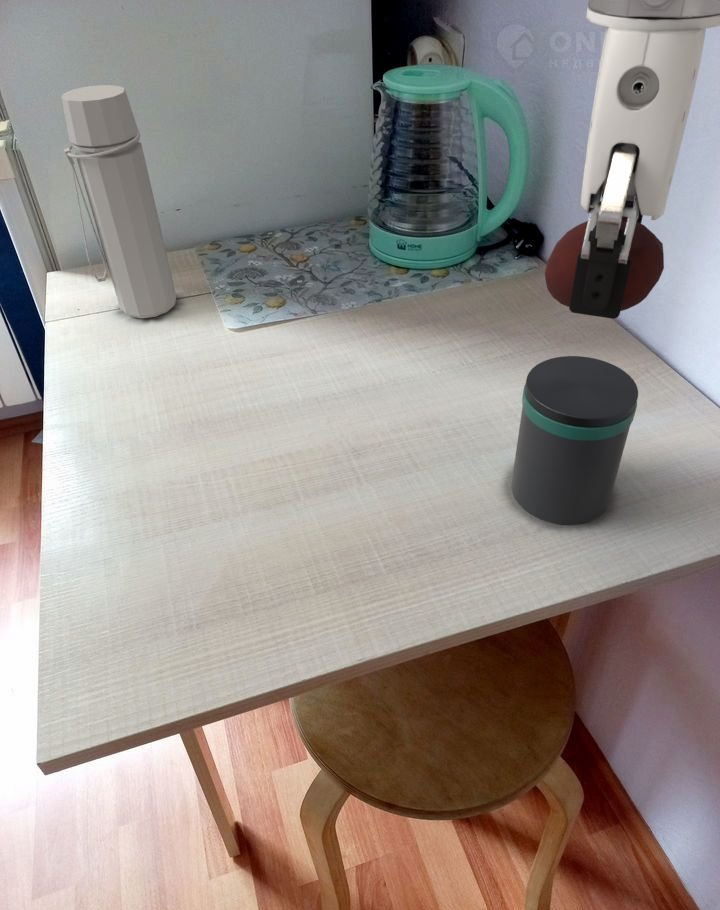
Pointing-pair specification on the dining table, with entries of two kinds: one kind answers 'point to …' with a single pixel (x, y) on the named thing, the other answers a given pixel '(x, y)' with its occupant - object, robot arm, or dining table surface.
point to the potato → (642, 250)
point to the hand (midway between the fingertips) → (602, 282)
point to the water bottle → (119, 198)
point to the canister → (572, 437)
